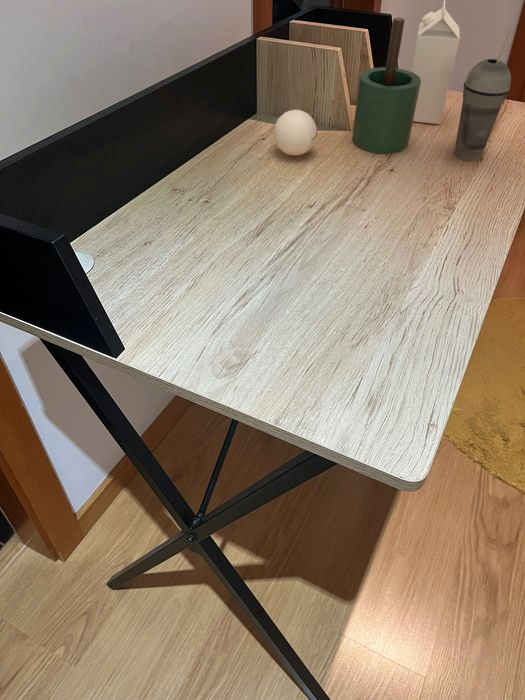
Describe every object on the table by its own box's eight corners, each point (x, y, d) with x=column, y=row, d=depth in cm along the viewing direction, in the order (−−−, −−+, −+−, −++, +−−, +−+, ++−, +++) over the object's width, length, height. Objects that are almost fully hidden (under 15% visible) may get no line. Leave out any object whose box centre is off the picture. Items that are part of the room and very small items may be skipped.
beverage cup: (453, 142, 103) (484, 18, 89) (493, 151, 101) (532, 26, 87) (441, 158, 99) (472, 31, 85) (483, 168, 96) (522, 39, 82)
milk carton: (440, 110, 113) (465, 1, 100) (439, 125, 108) (466, 13, 95) (403, 106, 114) (424, -2, 101) (401, 121, 110) (422, 9, 96)
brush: (390, 132, 104) (410, 15, 91) (392, 142, 101) (413, 23, 88) (368, 131, 104) (385, 14, 91) (369, 141, 101) (387, 22, 88)
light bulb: (309, 166, 96) (312, 123, 91) (267, 159, 98) (268, 116, 93) (324, 141, 103) (327, 100, 98) (284, 135, 105) (286, 94, 99)
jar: (404, 130, 107) (416, 68, 99) (410, 155, 100) (424, 90, 92) (351, 128, 107) (358, 66, 99) (353, 152, 100) (362, 88, 92)
